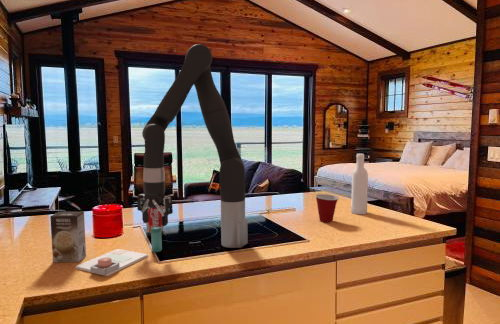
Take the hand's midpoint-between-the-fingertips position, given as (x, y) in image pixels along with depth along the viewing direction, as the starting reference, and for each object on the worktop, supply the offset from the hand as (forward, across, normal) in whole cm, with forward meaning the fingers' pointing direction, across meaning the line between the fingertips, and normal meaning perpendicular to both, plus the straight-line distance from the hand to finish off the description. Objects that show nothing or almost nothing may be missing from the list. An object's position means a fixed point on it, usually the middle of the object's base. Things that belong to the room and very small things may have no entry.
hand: (155, 224), depth 134 cm
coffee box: (+11, +21, +19) cm, 31 cm away
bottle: (+8, -57, -88) cm, 105 cm away
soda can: (+10, +16, -18) cm, 26 cm away
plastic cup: (+9, -46, -66) cm, 80 cm away
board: (+10, +5, +15) cm, 19 cm away
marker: (+10, -1, 0) cm, 10 cm away
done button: (+8, +1, +22) cm, 23 cm away
